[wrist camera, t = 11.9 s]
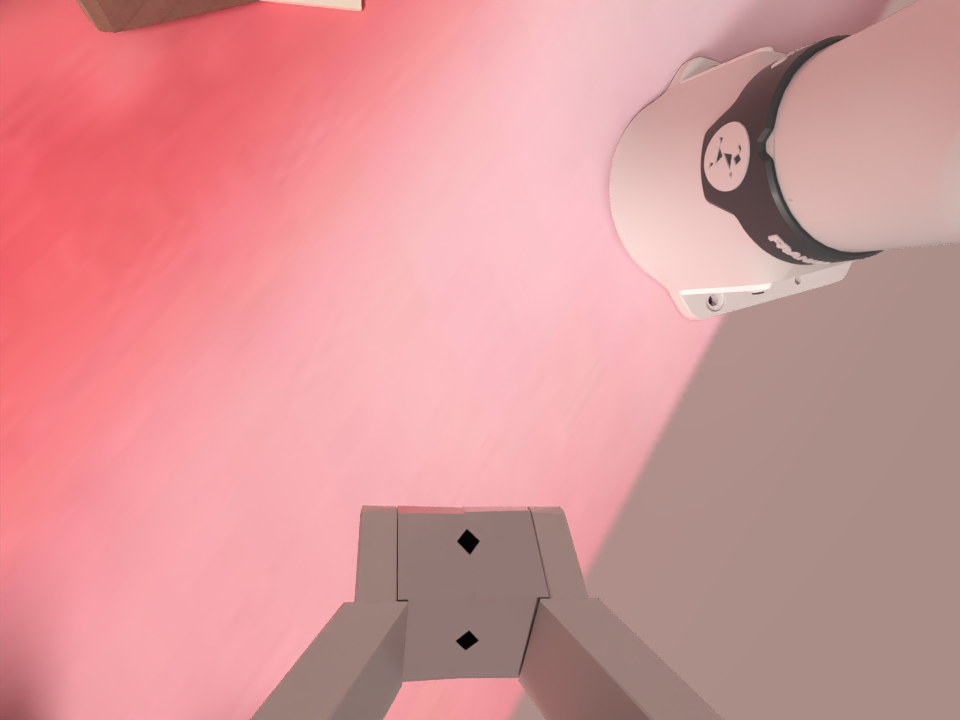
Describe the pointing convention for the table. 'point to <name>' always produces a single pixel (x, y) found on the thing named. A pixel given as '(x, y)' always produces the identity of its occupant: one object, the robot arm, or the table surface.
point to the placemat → (325, 3)
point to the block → (147, 11)
